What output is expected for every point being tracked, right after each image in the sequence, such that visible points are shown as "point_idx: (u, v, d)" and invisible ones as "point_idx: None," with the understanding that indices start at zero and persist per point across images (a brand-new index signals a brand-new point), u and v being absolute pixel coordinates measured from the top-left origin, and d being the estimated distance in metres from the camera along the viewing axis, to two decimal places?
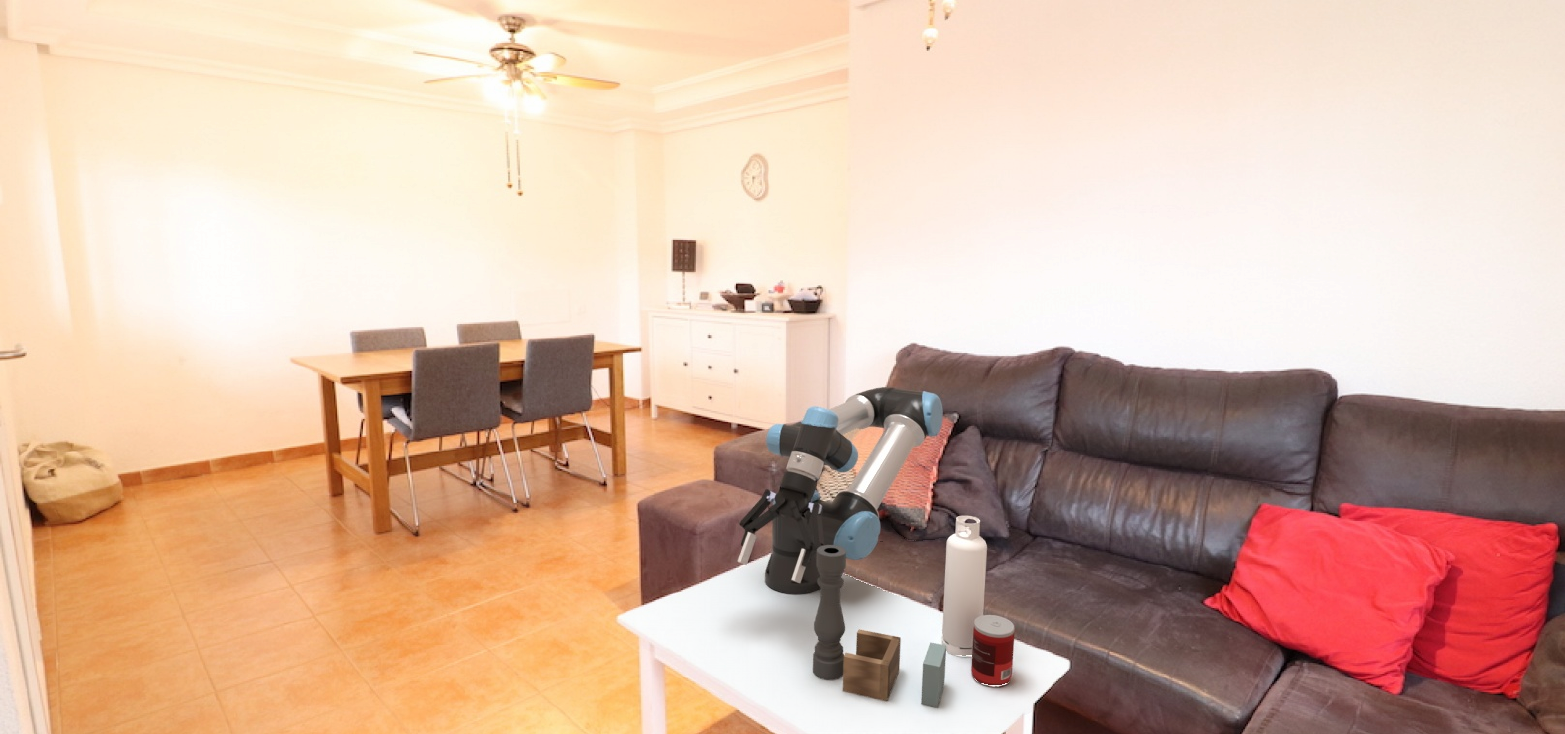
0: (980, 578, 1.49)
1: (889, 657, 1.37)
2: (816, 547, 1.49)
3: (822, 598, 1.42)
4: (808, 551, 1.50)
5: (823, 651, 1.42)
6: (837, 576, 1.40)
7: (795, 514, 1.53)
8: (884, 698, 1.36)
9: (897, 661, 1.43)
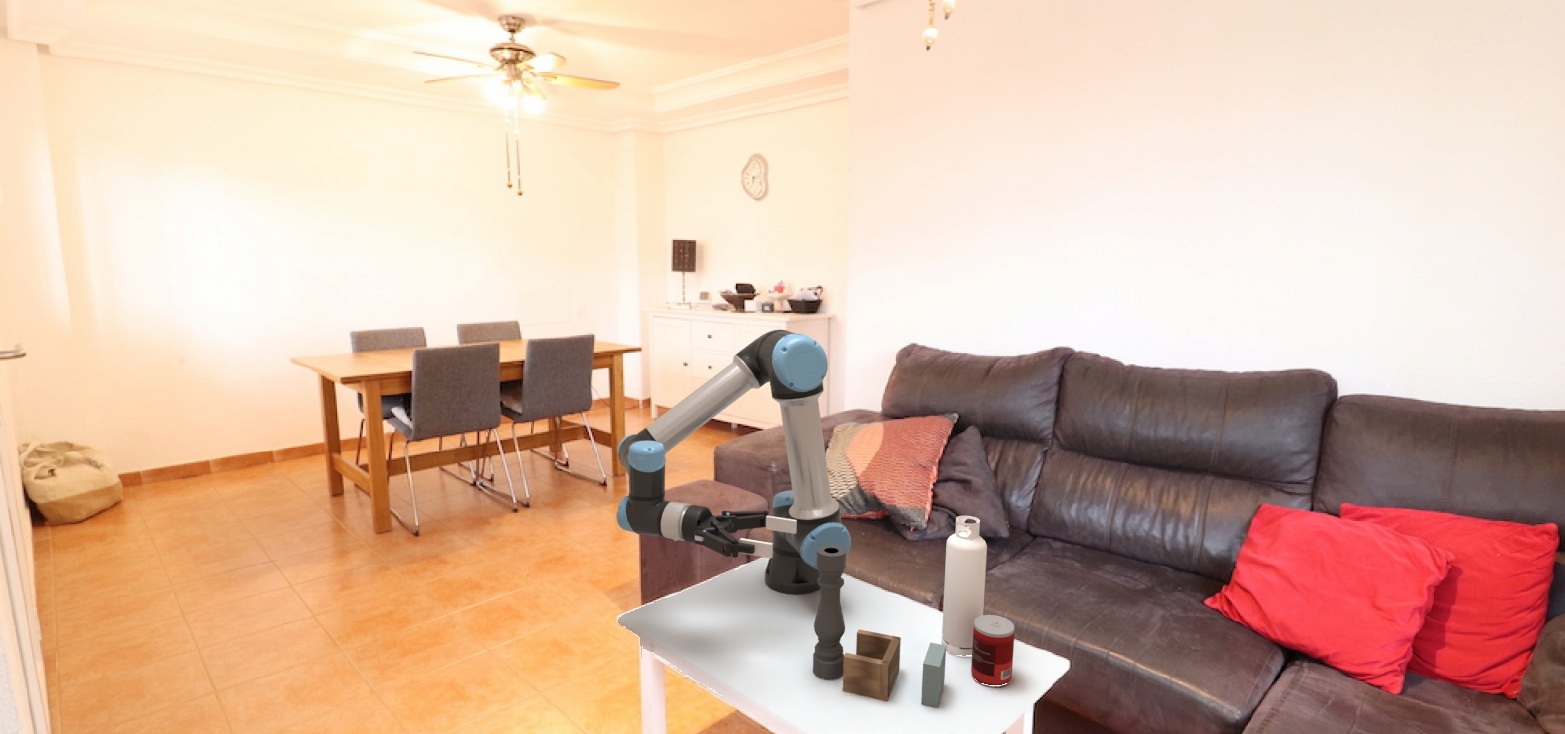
0: (980, 578, 1.49)
1: (889, 657, 1.37)
2: None
3: (822, 598, 1.42)
4: None
5: (823, 651, 1.42)
6: (837, 576, 1.40)
7: None
8: (884, 698, 1.36)
9: (897, 661, 1.43)
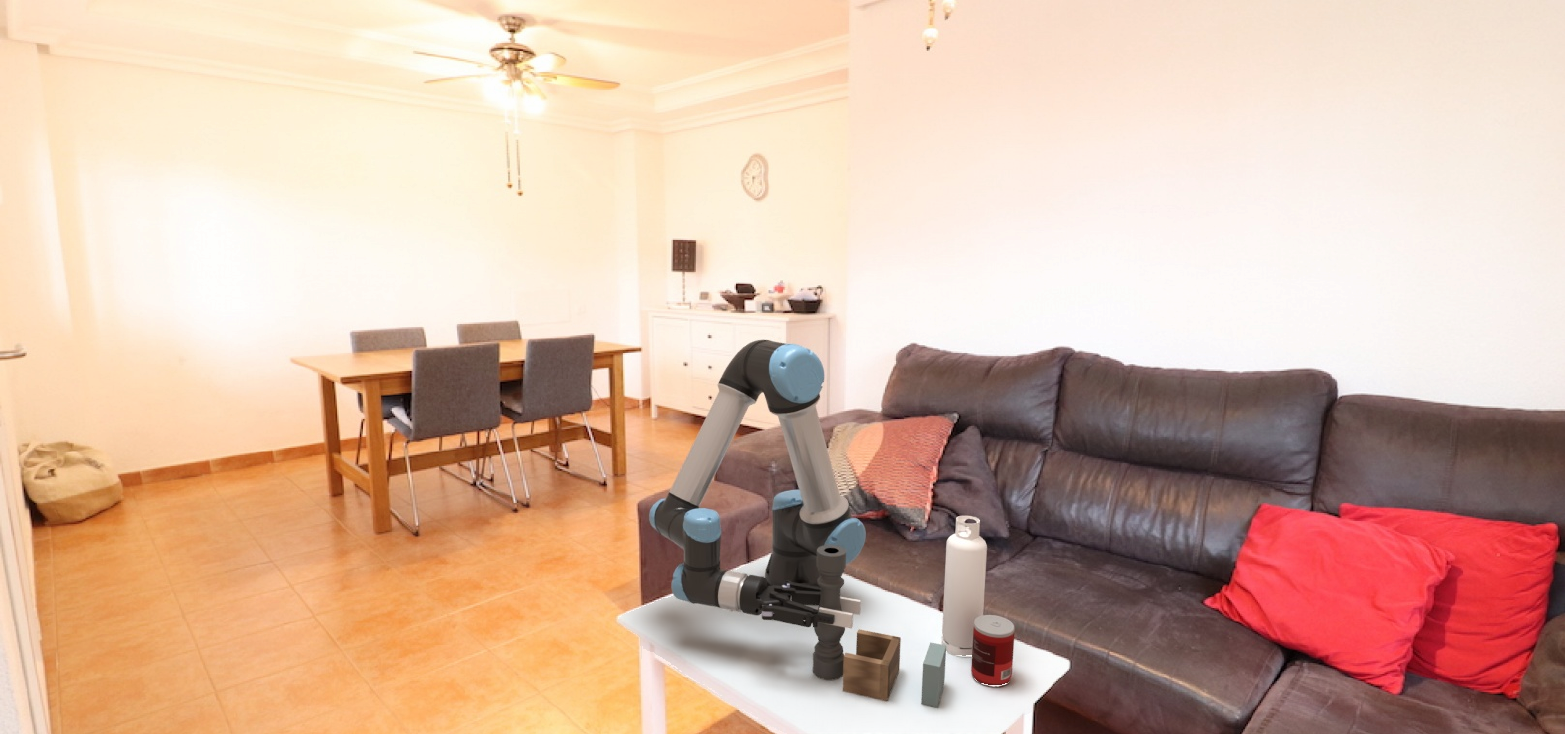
0: (980, 578, 1.49)
1: (889, 657, 1.37)
2: None
3: (822, 598, 1.42)
4: None
5: (823, 651, 1.42)
6: (837, 576, 1.40)
7: None
8: (884, 698, 1.36)
9: (897, 661, 1.43)
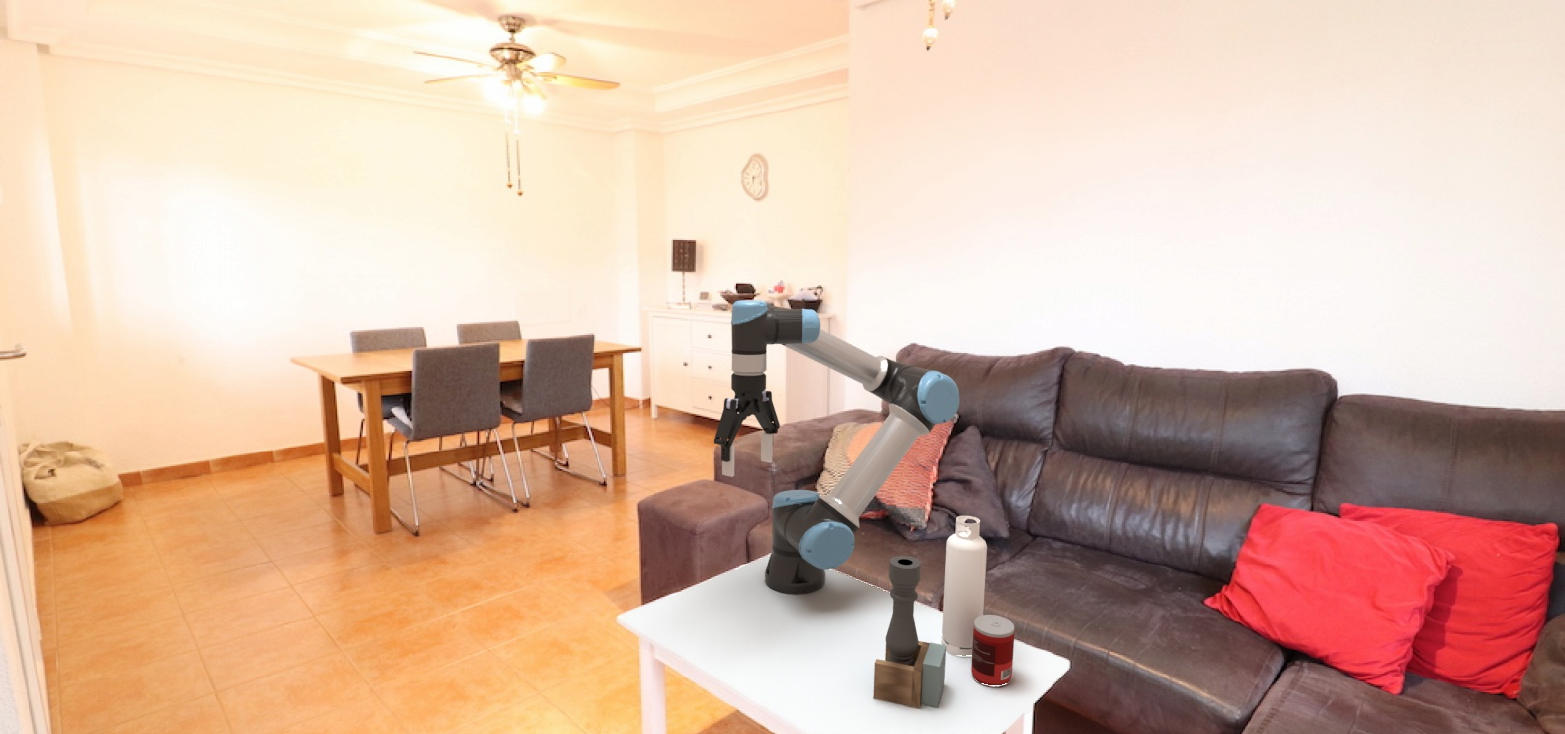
0: (980, 578, 1.49)
1: (921, 664, 1.35)
2: None
3: (895, 611, 1.37)
4: None
5: None
6: (912, 589, 1.35)
7: None
8: (916, 705, 1.33)
9: None
